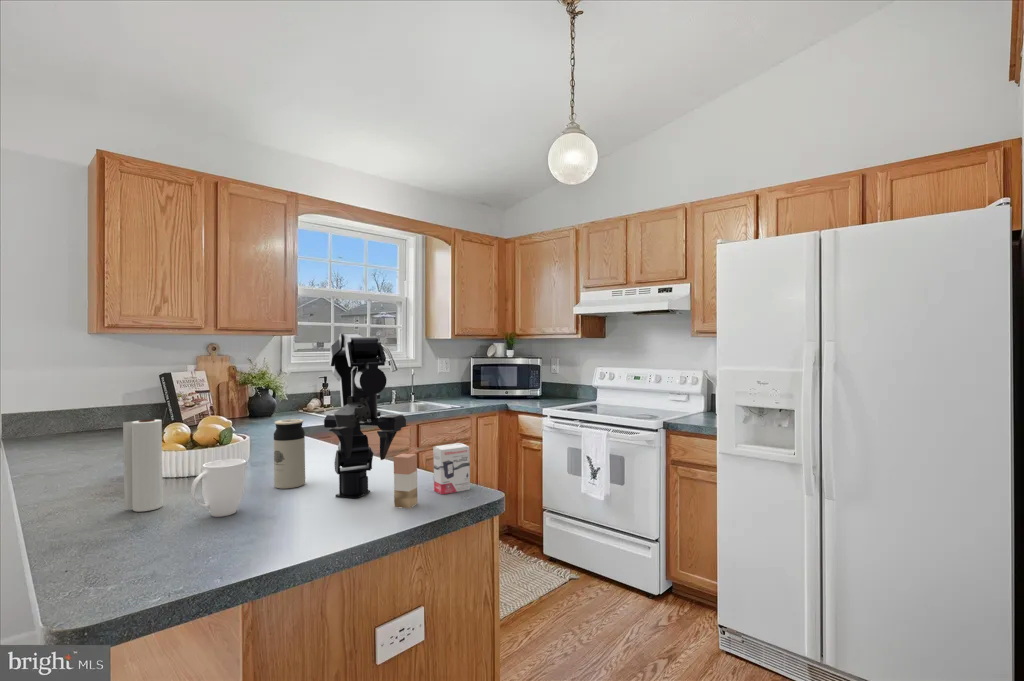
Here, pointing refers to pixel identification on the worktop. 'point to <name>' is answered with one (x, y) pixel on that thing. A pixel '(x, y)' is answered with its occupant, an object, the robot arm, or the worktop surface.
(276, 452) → the travel mug
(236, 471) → the mug
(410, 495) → the oak block
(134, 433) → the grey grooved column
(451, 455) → the ink box
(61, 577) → the worktop surface
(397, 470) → the terracotta block
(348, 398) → the robot arm
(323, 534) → the worktop surface
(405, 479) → the cream block
